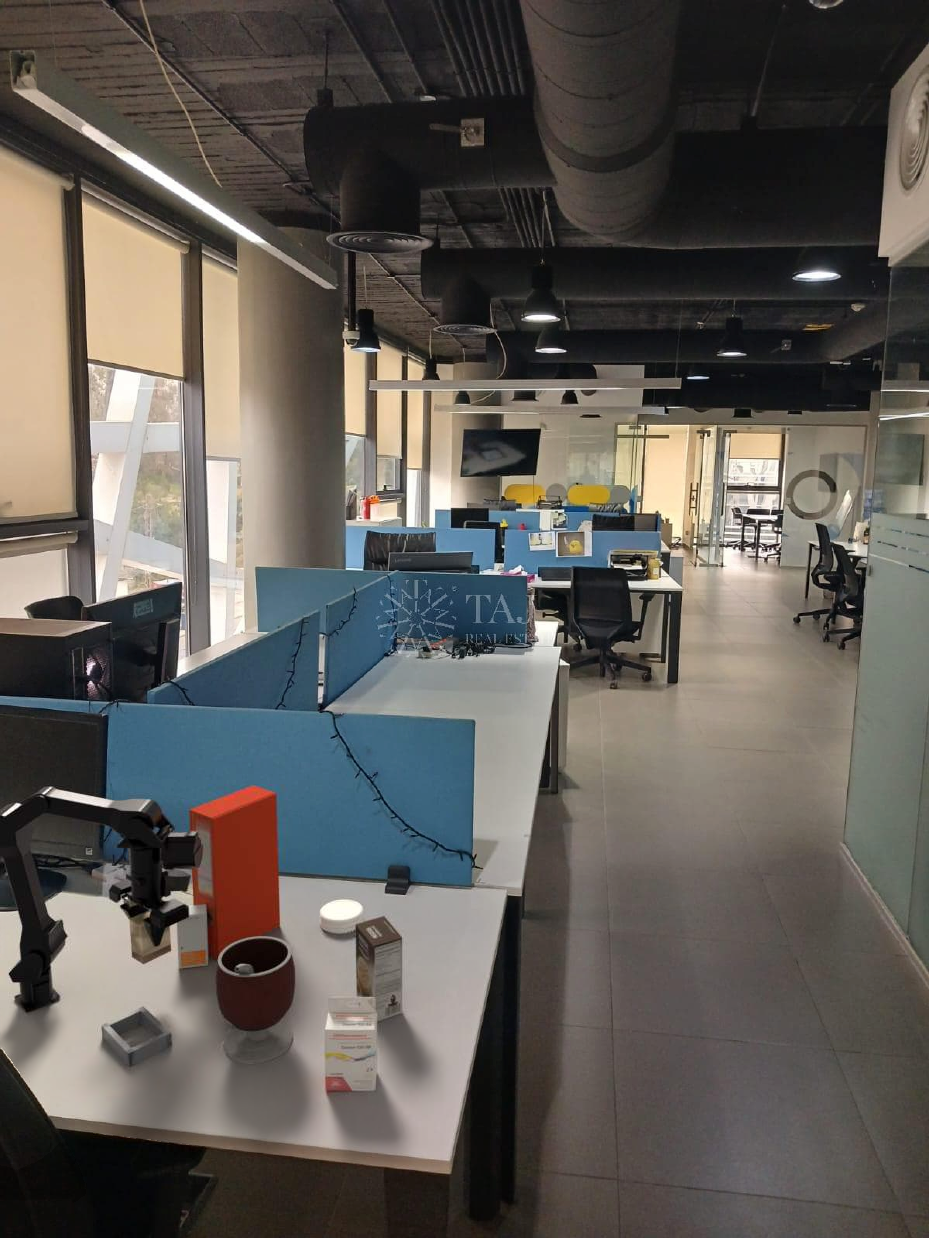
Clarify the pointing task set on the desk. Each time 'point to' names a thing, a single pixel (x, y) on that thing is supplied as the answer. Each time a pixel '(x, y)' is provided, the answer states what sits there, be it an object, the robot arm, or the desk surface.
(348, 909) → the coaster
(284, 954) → the mate gourd
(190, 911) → the skincare box
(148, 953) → the block
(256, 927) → the file binder
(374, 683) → the desk surface
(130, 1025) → the collar
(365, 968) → the coffee box
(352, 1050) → the ink cartridge box
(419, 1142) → the desk surface
